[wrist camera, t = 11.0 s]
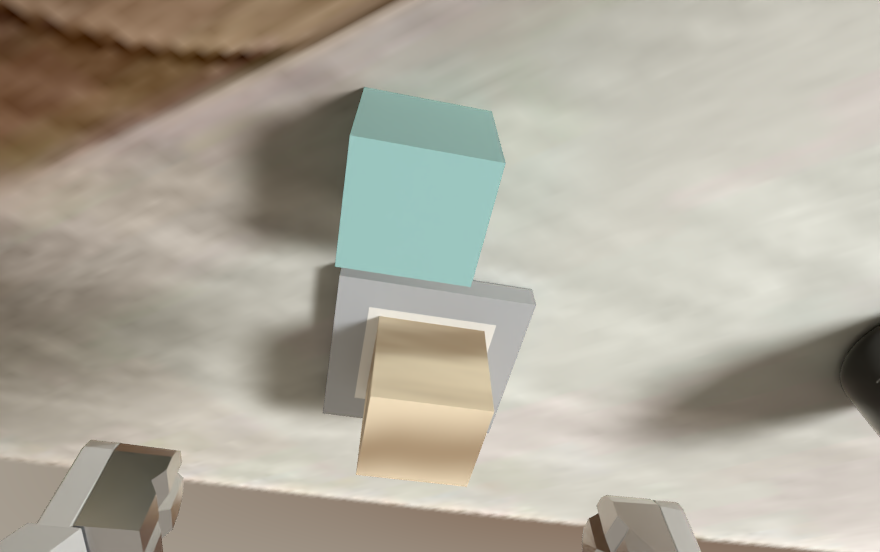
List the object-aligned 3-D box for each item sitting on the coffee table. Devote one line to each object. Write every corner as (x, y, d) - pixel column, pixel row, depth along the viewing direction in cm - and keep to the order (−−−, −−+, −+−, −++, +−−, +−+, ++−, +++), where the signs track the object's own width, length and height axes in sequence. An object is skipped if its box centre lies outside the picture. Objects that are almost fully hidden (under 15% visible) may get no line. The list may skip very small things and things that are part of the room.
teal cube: (364, 86, 22) (349, 135, 18) (491, 110, 23) (505, 162, 19) (350, 201, 25) (334, 266, 21) (463, 220, 25) (470, 287, 21)
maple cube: (379, 316, 27) (370, 396, 23) (484, 331, 27) (494, 411, 23) (366, 391, 30) (356, 474, 25) (461, 403, 30) (466, 486, 26)
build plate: (342, 260, 26) (339, 275, 25) (532, 289, 28) (536, 305, 27) (326, 396, 31) (322, 413, 30) (486, 416, 33) (488, 433, 32)
